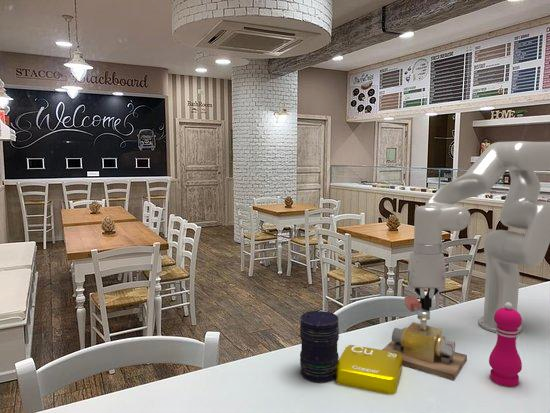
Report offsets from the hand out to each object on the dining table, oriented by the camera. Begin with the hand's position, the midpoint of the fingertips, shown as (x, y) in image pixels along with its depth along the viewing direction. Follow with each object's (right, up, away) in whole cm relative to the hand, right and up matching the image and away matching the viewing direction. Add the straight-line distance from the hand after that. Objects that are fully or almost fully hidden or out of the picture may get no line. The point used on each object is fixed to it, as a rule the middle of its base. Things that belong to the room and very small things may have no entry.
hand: (425, 309), depth 126 cm
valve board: (-4, -12, -8) cm, 15 cm away
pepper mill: (+13, -13, -19) cm, 27 cm away
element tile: (-20, -13, -16) cm, 29 cm away
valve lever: (-4, 0, -4) cm, 6 cm away
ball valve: (-4, -10, -8) cm, 14 cm away
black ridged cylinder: (-33, -13, -15) cm, 38 cm away
